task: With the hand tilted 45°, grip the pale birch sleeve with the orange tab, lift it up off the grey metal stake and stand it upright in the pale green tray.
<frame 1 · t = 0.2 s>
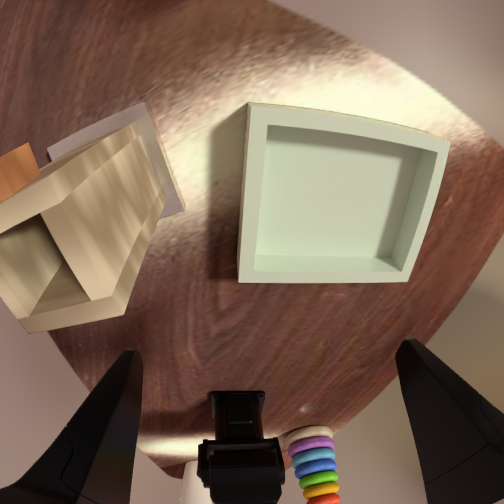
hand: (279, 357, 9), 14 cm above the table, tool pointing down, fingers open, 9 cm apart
birch sleeve: (111, 177, 19), point 1 cm above the table, touching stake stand
green tray: (336, 193, 22), on the table
foam cup: (201, 464, 50), on the table
stacking toy: (307, 432, 44), on the table
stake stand: (116, 173, 20), on the table
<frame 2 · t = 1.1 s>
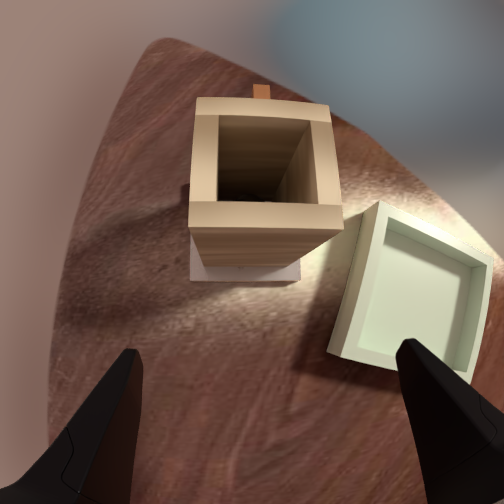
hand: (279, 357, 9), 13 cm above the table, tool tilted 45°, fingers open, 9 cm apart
birch sleeve: (245, 226, 23), point 1 cm above the table, touching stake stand
green tray: (415, 302, 24), on the table
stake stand: (244, 229, 24), on the table
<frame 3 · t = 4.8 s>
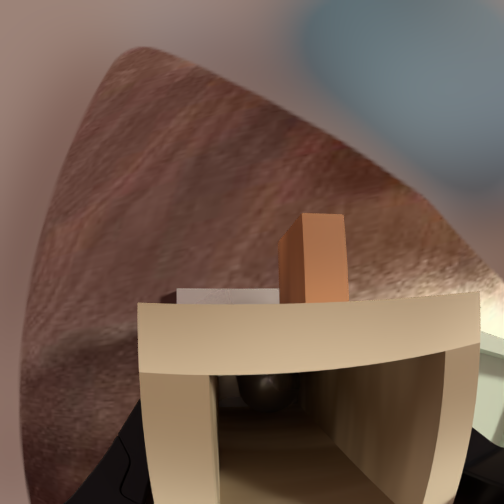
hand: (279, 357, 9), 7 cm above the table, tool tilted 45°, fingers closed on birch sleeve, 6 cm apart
birch sleeve: (258, 368, 15), point 1 cm above the table, touching gripper, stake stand
green tray: (461, 419, 16), on the table
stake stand: (256, 365, 16), on the table
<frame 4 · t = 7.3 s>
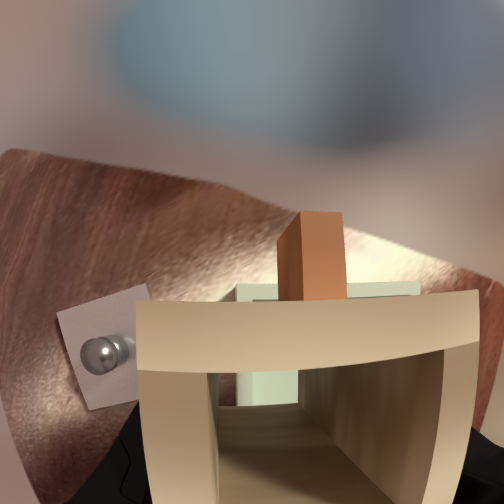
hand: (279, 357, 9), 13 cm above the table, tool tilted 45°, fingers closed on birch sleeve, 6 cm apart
birch sleeve: (258, 368, 15), point 8 cm above the table, touching gripper
green tray: (325, 362, 23), on the table
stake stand: (117, 349, 21), on the table
when the fingers open (8 cm above the table, at t = 10.1 s): birch sleeve drops 1 cm, resting on green tray.
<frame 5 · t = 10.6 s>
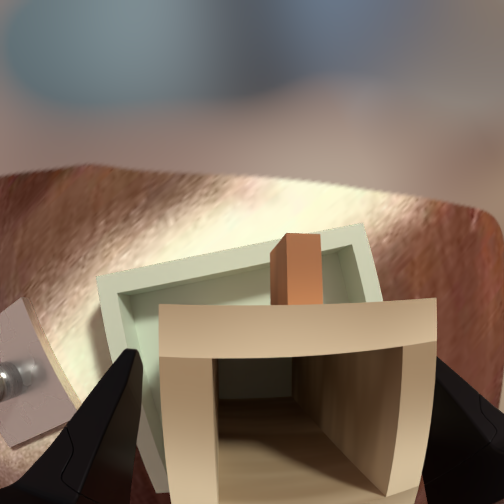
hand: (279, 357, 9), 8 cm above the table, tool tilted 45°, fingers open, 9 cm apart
birch sleeve: (255, 363, 16), point 1 cm above the table, touching green tray
green tray: (254, 361, 17), on the table
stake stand: (17, 377, 15), on the table
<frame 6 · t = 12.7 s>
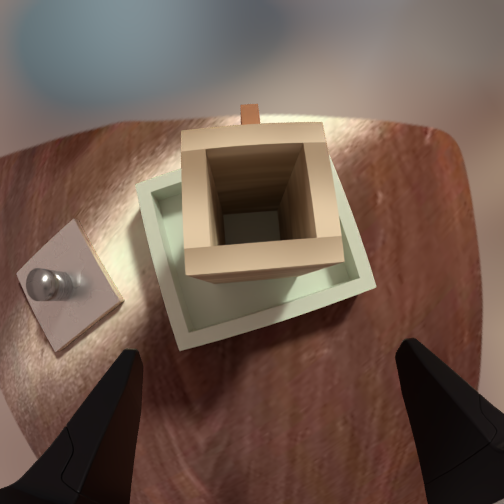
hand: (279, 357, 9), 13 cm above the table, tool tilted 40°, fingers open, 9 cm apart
birch sleeve: (252, 239, 23), point 1 cm above the table, touching green tray
green tray: (252, 241, 24), on the table
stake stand: (67, 286, 23), on the table
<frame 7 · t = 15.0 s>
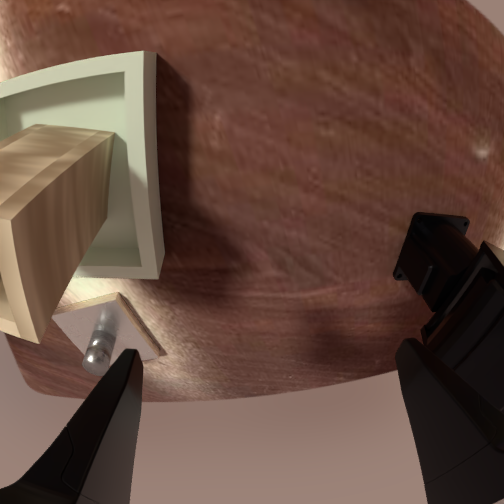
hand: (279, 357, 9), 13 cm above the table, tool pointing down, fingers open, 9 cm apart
birch sleeve: (69, 170, 17), point 1 cm above the table, touching green tray
green tray: (74, 166, 18), on the table
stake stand: (106, 330, 27), on the table
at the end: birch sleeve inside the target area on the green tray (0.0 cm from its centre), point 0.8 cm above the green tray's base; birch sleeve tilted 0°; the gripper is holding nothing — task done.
